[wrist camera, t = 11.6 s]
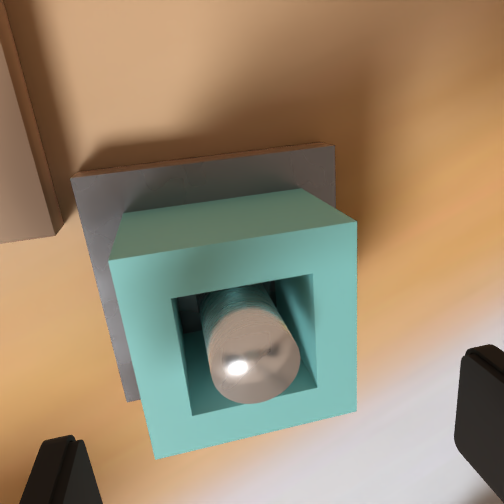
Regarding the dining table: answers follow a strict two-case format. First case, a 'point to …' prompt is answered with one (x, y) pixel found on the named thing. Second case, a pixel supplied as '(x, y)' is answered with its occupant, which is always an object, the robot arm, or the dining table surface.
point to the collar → (228, 276)
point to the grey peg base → (220, 301)
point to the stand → (21, 155)
